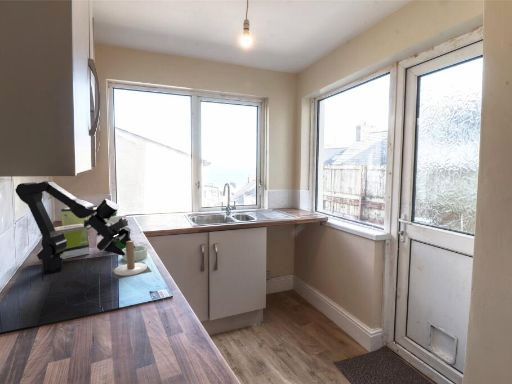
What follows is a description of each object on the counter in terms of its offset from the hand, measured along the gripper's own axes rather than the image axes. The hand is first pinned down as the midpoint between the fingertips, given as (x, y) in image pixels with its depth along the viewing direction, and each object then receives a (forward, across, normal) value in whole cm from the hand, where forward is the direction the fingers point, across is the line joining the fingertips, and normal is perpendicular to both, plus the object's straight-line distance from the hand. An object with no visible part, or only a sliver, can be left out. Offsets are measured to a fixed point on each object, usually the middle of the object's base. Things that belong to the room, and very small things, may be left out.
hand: (129, 251), depth 122 cm
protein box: (-46, +77, +57) cm, 106 cm away
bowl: (+2, +17, +10) cm, 20 cm away
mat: (+6, 0, +6) cm, 9 cm away
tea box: (-22, +20, +34) cm, 46 cm away
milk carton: (-10, +34, +22) cm, 42 cm away
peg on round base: (+6, 0, +6) cm, 8 cm away
